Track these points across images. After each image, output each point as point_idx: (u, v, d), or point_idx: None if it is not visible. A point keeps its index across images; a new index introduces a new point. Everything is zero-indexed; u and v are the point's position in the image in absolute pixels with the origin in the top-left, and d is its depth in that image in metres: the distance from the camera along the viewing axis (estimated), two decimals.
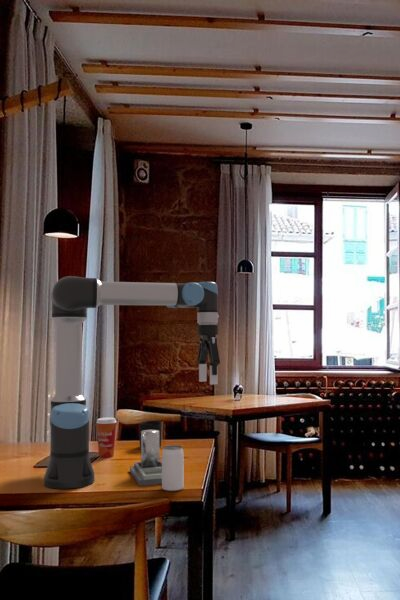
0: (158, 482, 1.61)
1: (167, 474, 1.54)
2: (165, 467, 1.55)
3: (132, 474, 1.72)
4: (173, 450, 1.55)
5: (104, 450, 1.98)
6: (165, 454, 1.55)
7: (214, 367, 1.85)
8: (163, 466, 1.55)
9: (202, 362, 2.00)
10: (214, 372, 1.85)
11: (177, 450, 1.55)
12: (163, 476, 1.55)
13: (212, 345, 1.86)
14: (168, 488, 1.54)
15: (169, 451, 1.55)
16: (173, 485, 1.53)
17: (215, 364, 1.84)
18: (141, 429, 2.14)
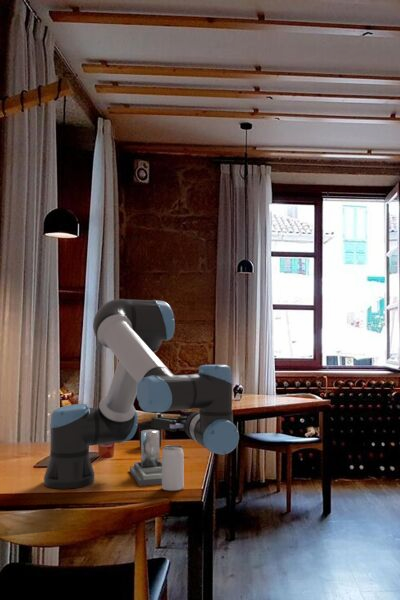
0: (158, 482, 1.61)
1: (167, 474, 1.54)
2: (165, 467, 1.55)
3: (132, 474, 1.72)
4: (173, 450, 1.55)
5: (104, 450, 1.98)
6: (165, 454, 1.55)
7: None
8: (163, 466, 1.55)
9: None
10: None
11: (177, 450, 1.55)
12: (163, 476, 1.55)
13: (167, 422, 1.34)
14: (168, 488, 1.54)
15: (169, 451, 1.55)
16: (173, 485, 1.54)
17: None
18: (141, 429, 2.14)
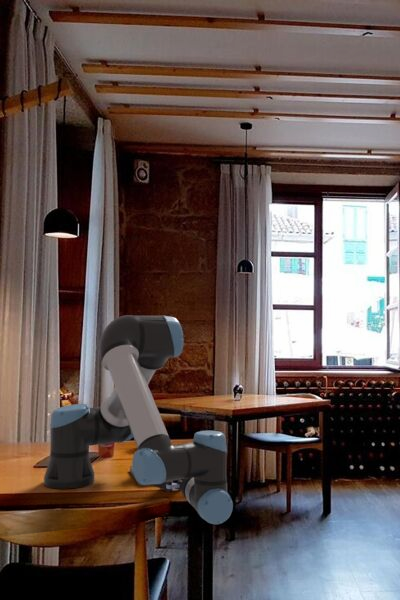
0: None
1: None
2: None
3: (132, 474, 1.72)
4: None
5: (104, 450, 1.98)
6: None
7: None
8: None
9: None
10: None
11: None
12: None
13: (163, 482, 1.36)
14: None
15: None
16: None
17: None
18: None
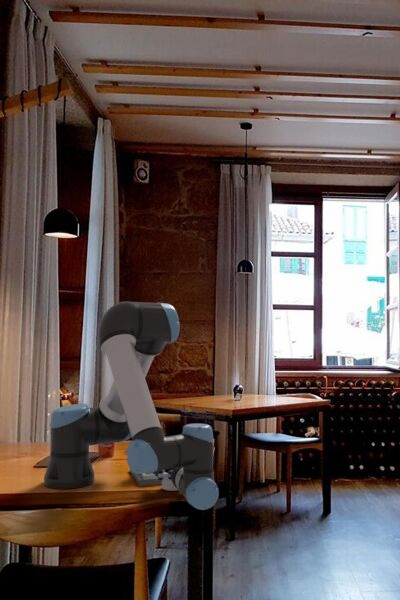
0: (158, 482, 1.61)
1: None
2: None
3: (132, 474, 1.72)
4: None
5: (104, 450, 1.98)
6: None
7: None
8: None
9: None
10: None
11: None
12: None
13: (157, 470, 1.47)
14: (168, 488, 1.54)
15: None
16: (173, 485, 1.54)
17: None
18: None
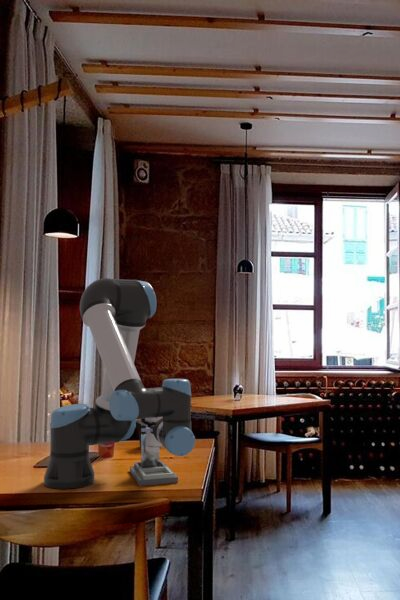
0: (158, 482, 1.61)
1: None
2: None
3: (132, 474, 1.72)
4: None
5: (104, 450, 1.98)
6: None
7: None
8: None
9: None
10: None
11: None
12: (147, 433, 1.65)
13: (141, 426, 1.57)
14: (152, 444, 1.63)
15: None
16: (156, 441, 1.63)
17: None
18: None
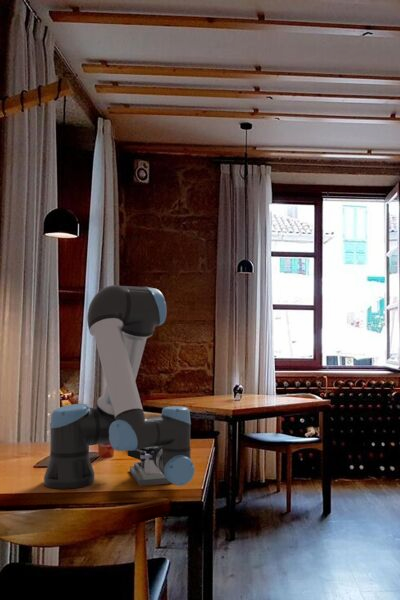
0: (158, 482, 1.61)
1: (149, 461, 1.63)
2: None
3: (132, 474, 1.72)
4: None
5: (104, 450, 1.98)
6: None
7: None
8: None
9: None
10: None
11: None
12: (145, 463, 1.64)
13: (138, 453, 1.55)
14: (150, 474, 1.63)
15: None
16: (154, 472, 1.63)
17: None
18: None
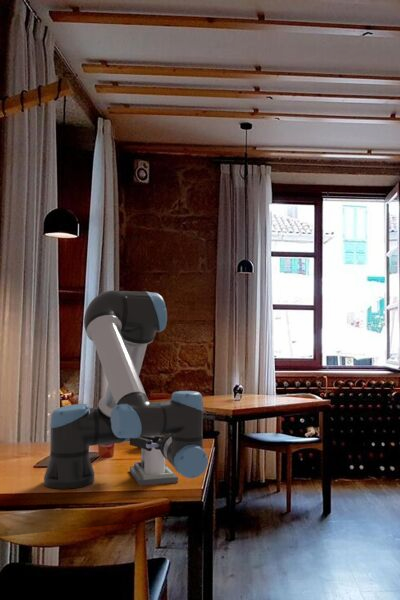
0: (158, 482, 1.61)
1: (149, 462, 1.63)
2: (147, 455, 1.64)
3: (132, 474, 1.72)
4: None
5: (104, 450, 1.98)
6: None
7: None
8: (145, 454, 1.64)
9: None
10: None
11: (159, 439, 1.64)
12: (145, 463, 1.64)
13: (143, 442, 1.41)
14: (150, 474, 1.63)
15: None
16: (154, 472, 1.63)
17: None
18: None
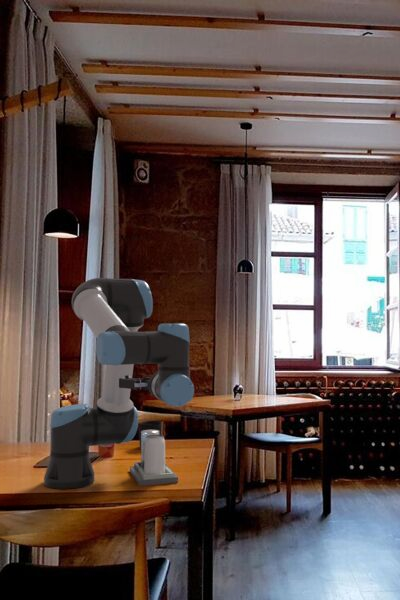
0: (158, 482, 1.61)
1: (149, 462, 1.63)
2: (147, 455, 1.64)
3: (132, 474, 1.72)
4: (155, 439, 1.64)
5: (104, 450, 1.98)
6: (147, 442, 1.64)
7: None
8: (145, 454, 1.64)
9: None
10: None
11: (159, 439, 1.64)
12: (145, 463, 1.64)
13: (132, 382, 1.41)
14: (150, 474, 1.63)
15: (151, 440, 1.64)
16: (154, 472, 1.63)
17: None
18: (141, 429, 2.14)
